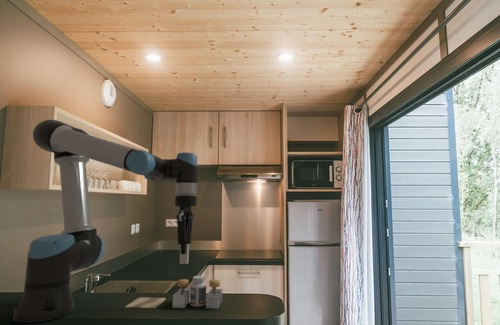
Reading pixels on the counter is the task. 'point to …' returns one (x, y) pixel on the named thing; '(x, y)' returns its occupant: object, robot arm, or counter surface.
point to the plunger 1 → (182, 284)
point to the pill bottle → (198, 292)
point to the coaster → (145, 303)
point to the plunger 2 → (214, 284)
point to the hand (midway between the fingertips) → (184, 263)
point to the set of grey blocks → (184, 297)
